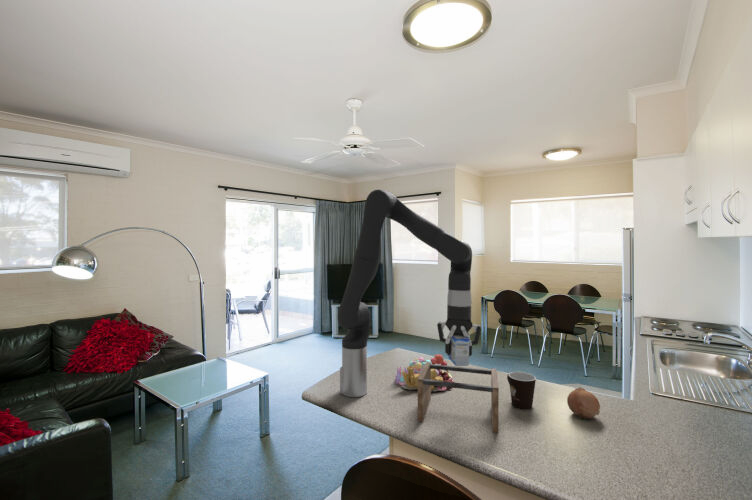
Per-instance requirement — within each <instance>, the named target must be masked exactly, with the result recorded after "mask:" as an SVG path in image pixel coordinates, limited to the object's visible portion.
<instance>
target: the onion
mask: <svg viewBox="0 0 752 500" xmlns="http://www.w3.org/2000/svg"><path fill="white" fill-rule="evenodd" d="M566 402H567V406H568V409H569V410H570V411H571V413H573V414H574V415H576V416H577V417H579V418H580V419H584V420H588V419H589V420H590V419H594V417H596V416H599V414H600V412H601V411H600V409H601V404H600V402H599V399H598V398H597V397H596V395H594V394H593V393H591V392H590V391H588V390H586V389H585V388H583V387H580V386H579V387H577V388H575V389H574V390H572V391H571V392H569V394H568V395H567V399H566Z"/></svg>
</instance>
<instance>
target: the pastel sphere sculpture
mask: <svg viewBox="0 0 752 500" xmlns="http://www.w3.org/2000/svg"><path fill="white" fill-rule="evenodd" d="M426 362H430V363H431V364H434V365H445V366H448V363H447V362H446V361H445V360H444V357H443V355H441V353H440V354H436V355H434V357H432V358H431V359H426V360H425V359H424V358H423V357H418V358H414V360H411V361H410V362H409V364H408V365H409V366H404V369H402V367H401V366H400V367H397V368H396V375H395V382H396V384H398V386H399V385H400V387H401V388H402V389H405V390H410V391H411V390H413V391H414V390H418V378H419V376H420V374H421V372H422V370H423V368H424V366H425V364H426ZM431 380H437V381H446V382H454V380H453V376H452V375H451V373H450V371H449V370H439V369H431ZM447 389H450V390H453V389H452V388H451V387H442V386H433V385H431V392H439V391H442V392H446V390H447Z"/></svg>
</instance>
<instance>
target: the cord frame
mask: <svg viewBox="0 0 752 500" xmlns="http://www.w3.org/2000/svg"><path fill="white" fill-rule="evenodd" d="M431 369H439V370H441V371H445V370H448V371H449V372H450V371H451V372H459V373H460V372H461V373H470V374H481V375H490V376H491V381H490V382H491V384H490V386H489V385H480V384H471V383H462V382H455V381H453V382H446V381H437V380H431ZM497 371H498V370H497V368H493V367H492V368H491V369H485V368H473V367H466V366H455V365H454V366H452V365H447V366H445V365H441V364H431V363H430V362H426V364H425V366H424V368H423V370H422V372H421V374H420V376H419V378H418V389H417V422H421V423H423V422H424V419H425V417H426V413H427V411H428V408H429V406H430V403H431V401H432V394H431V393H432V391H431V385H433V386H442V387H451V388H453V389H461V390H468V391H469V390H470V391H478V392H479V391H480V392H488V393H490V394H491V397H490V404H491V407H490V409H491V410H490V411H491V426H492V427H491V428H492V433H499V420H500V419H499V413H500V412H499V407H500V406H499V403H500V402H499V397H500V395H499V379H498V372H497Z"/></svg>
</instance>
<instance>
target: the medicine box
mask: <svg viewBox="0 0 752 500" xmlns="http://www.w3.org/2000/svg"><path fill="white" fill-rule="evenodd" d="M448 359H449V360H450V361H451V363H453V365H454V366H455V367H468V366H469V365H470V357H469V339H468V338H465V337H464V336H460V335H453V336H452V338H451V340H450V356H449V355H448Z"/></svg>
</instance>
